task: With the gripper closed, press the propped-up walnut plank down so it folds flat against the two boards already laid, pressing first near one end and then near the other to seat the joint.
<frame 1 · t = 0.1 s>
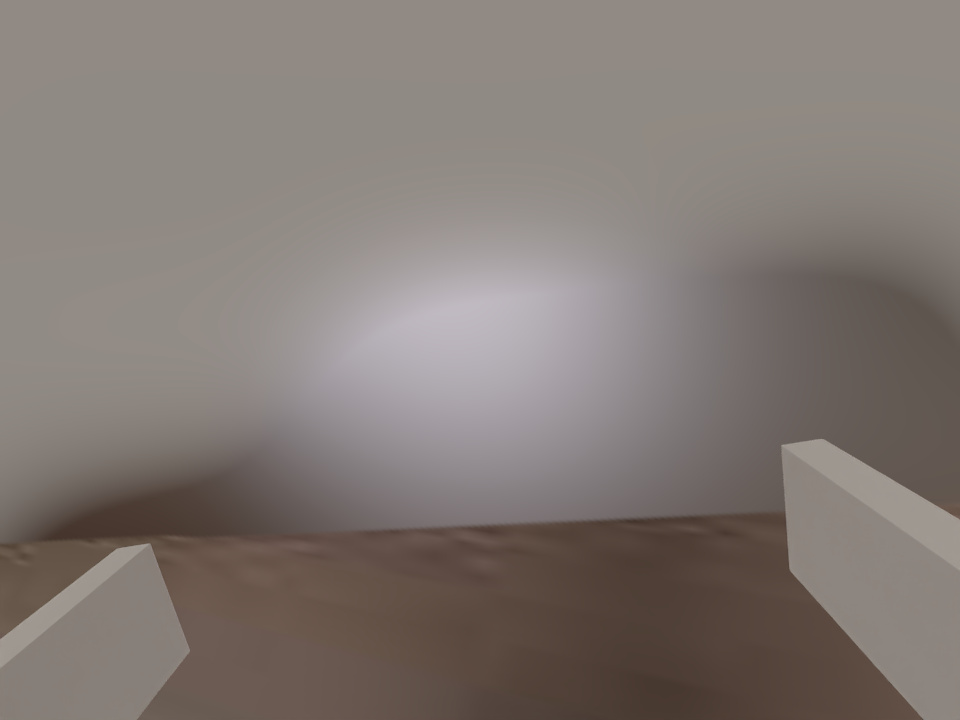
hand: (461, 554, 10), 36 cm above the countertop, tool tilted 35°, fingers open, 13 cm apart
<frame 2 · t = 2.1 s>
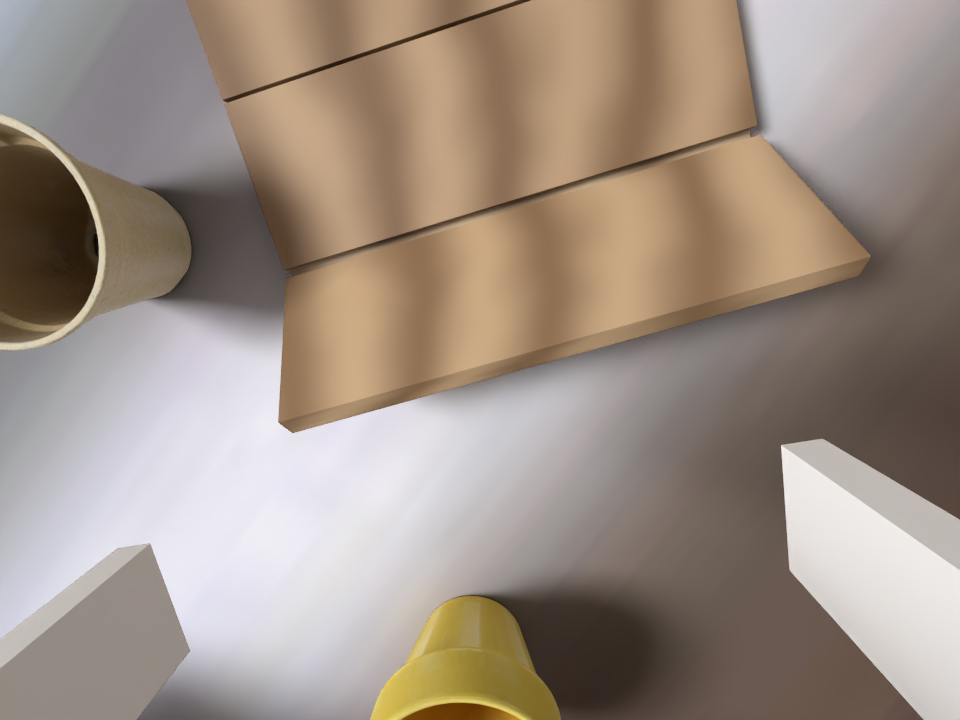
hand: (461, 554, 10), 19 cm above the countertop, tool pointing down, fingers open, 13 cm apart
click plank: (536, 277, 24), point 4 cm above the countertop, hinge at 45.0°
plant pot: (471, 634, 33), on the countertop
laid floor: (464, 31, 26), on the countertop
flower pot: (141, 242, 28), on the countertop
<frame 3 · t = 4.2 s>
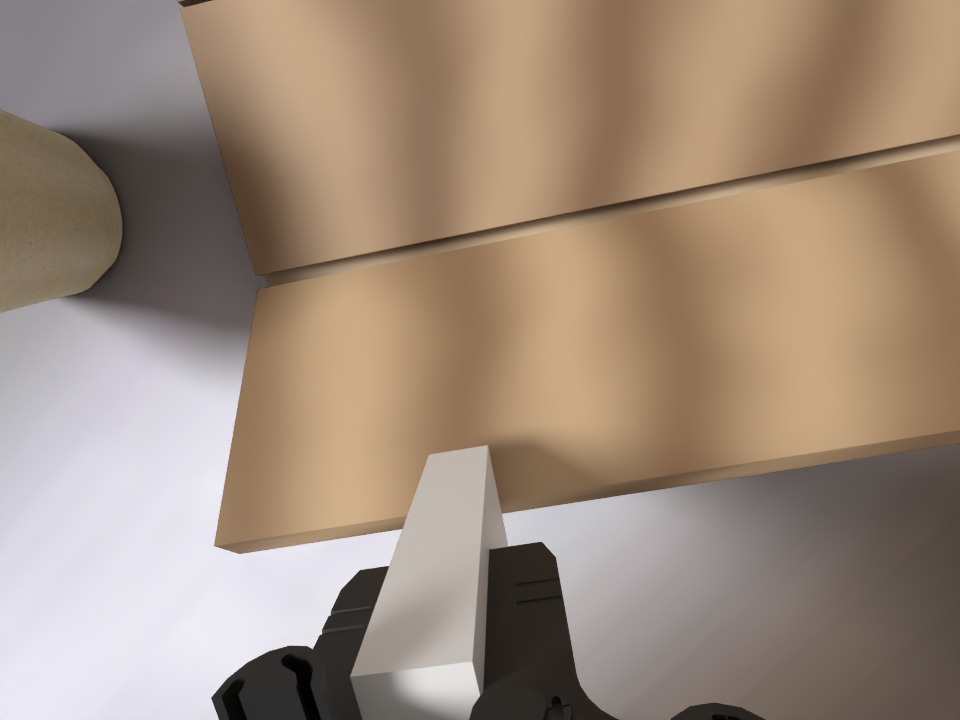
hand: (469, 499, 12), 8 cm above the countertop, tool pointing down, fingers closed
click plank: (650, 334, 15), point 4 cm above the countertop, hinge at 44.2°, touching gripper
flower pot: (51, 213, 19), on the countertop
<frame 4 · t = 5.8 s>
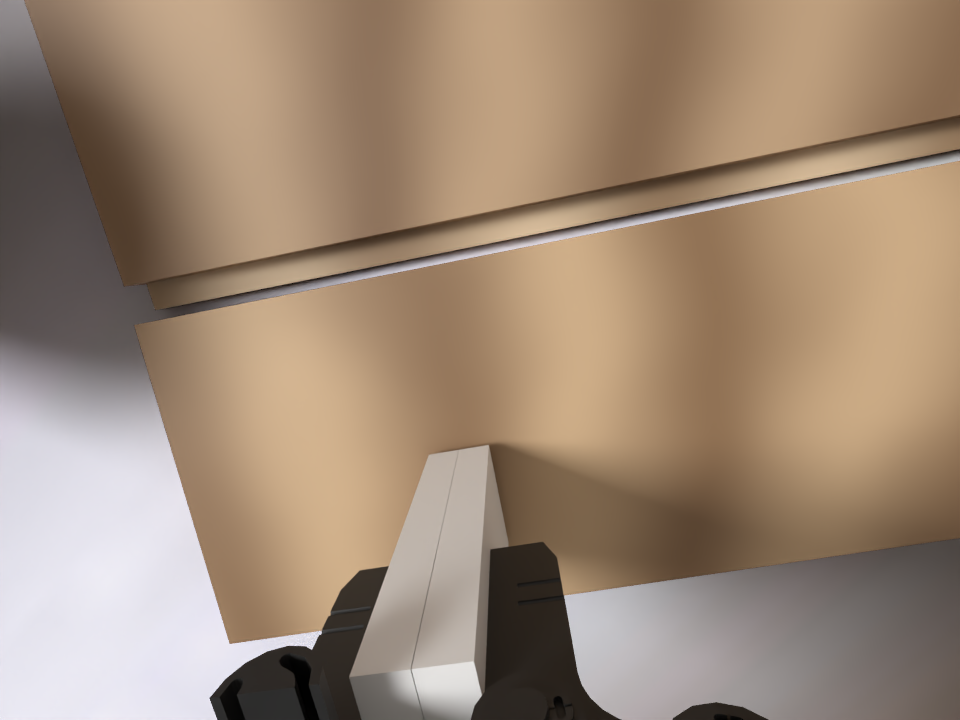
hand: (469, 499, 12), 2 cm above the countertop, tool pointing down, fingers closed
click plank: (675, 401, 13), point 1 cm above the countertop, hinge at 3.6°, touching gripper
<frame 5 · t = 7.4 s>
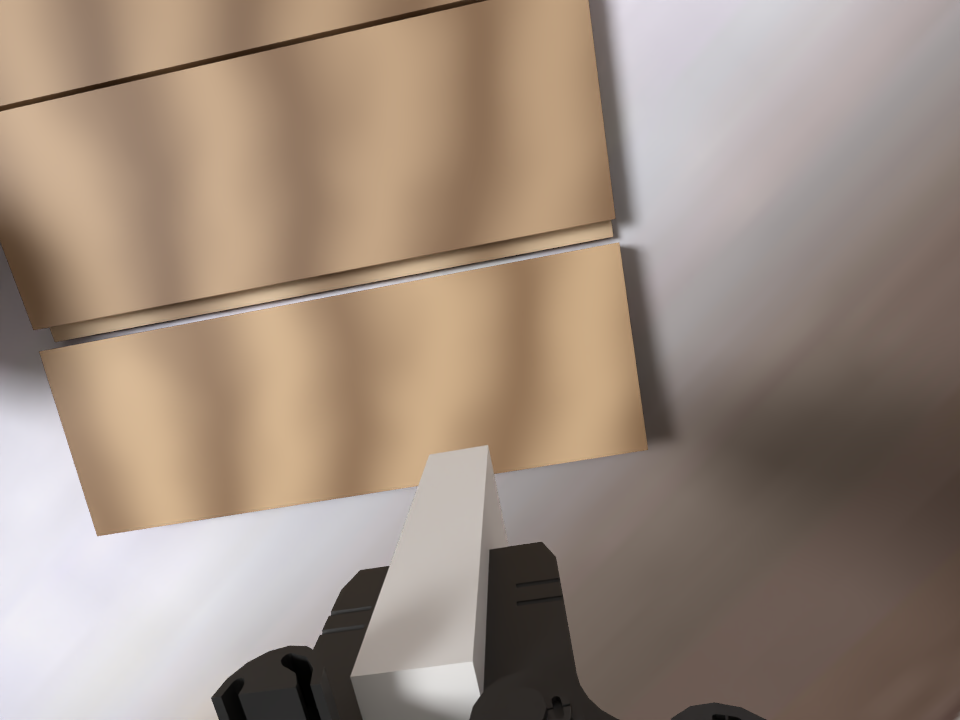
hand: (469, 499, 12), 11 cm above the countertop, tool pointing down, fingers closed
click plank: (343, 396, 22), point 1 cm above the countertop, hinge at 3.6°
laid floor: (268, 62, 20), on the countertop
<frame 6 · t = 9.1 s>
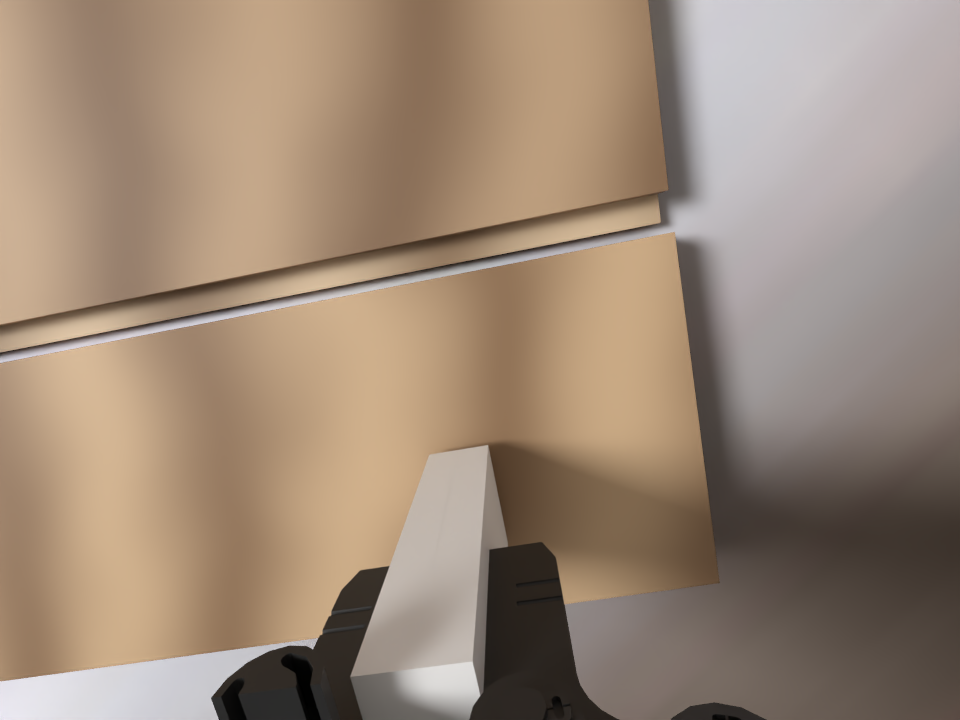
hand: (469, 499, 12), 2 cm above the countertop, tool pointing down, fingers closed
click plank: (216, 488, 14), point 1 cm above the countertop, hinge at 3.6°, touching gripper
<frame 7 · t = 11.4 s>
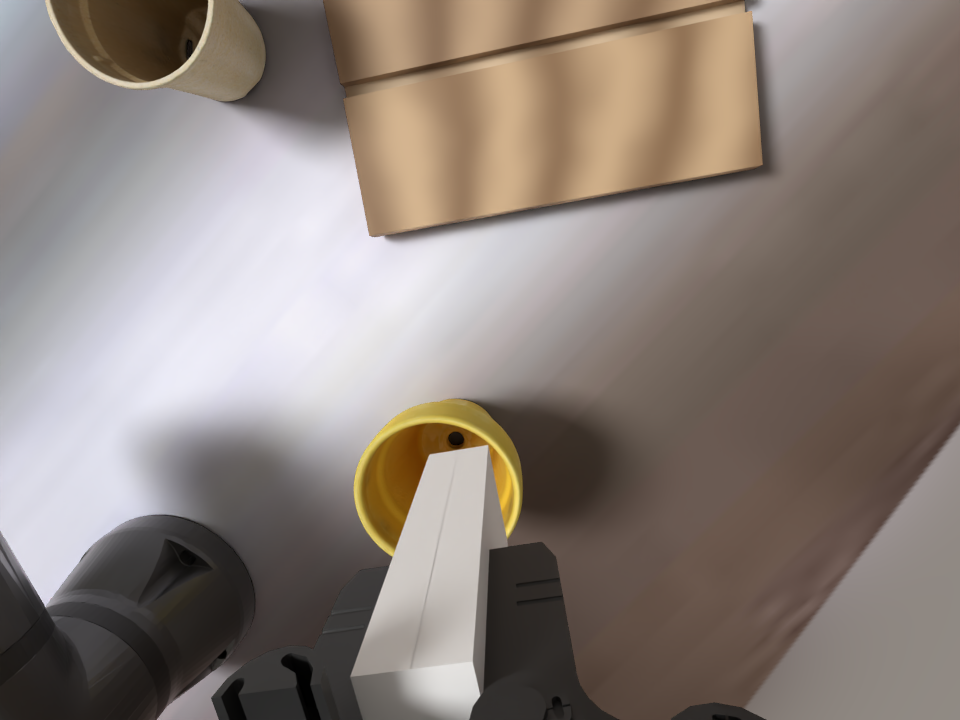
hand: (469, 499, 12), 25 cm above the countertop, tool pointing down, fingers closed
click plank: (547, 133, 33), point 1 cm above the countertop, hinge at 3.5°
plant pot: (456, 435, 39), on the countertop
flower pot: (224, 53, 34), on the countertop
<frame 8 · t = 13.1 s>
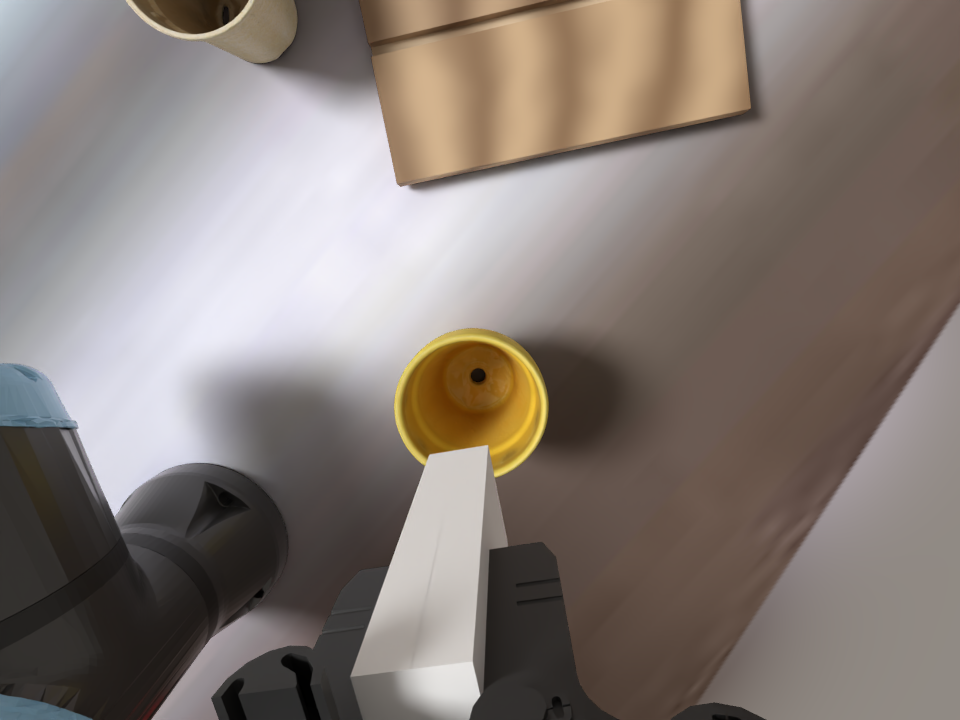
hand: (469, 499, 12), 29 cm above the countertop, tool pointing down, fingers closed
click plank: (557, 85, 36), point 1 cm above the countertop, hinge at 3.5°
plant pot: (478, 374, 42), on the countertop
flower pot: (258, 18, 37), on the countertop
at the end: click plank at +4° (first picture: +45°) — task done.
